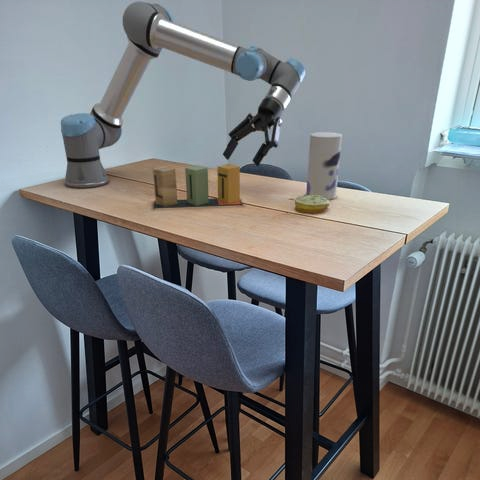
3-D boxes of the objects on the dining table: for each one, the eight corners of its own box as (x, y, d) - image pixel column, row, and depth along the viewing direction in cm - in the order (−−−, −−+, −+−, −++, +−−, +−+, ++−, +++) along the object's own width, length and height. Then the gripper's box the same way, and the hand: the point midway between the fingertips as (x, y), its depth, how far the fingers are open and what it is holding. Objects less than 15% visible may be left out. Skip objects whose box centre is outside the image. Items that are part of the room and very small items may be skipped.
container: (328, 202, 154) (335, 137, 144) (301, 197, 158) (305, 134, 148) (340, 195, 161) (346, 133, 151) (313, 191, 165) (318, 130, 155)
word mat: (153, 210, 146) (153, 207, 146) (154, 202, 154) (154, 199, 153) (242, 206, 149) (242, 204, 149) (239, 199, 157) (239, 196, 156)
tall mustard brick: (217, 201, 152) (216, 166, 147) (229, 198, 155) (228, 163, 150) (228, 204, 149) (227, 168, 143) (239, 201, 152) (239, 166, 147)
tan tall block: (155, 203, 150) (152, 168, 144) (168, 200, 153) (165, 166, 148) (164, 207, 147) (161, 171, 141) (177, 203, 150) (175, 168, 144)
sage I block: (186, 202, 151) (184, 167, 146) (198, 199, 154) (197, 165, 149) (196, 206, 148) (195, 170, 142) (208, 202, 151) (207, 167, 146)
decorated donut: (335, 209, 147) (336, 197, 145) (315, 216, 140) (316, 204, 138) (307, 202, 153) (308, 190, 151) (287, 209, 146) (288, 197, 144)
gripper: (240, 94, 156) (207, 147, 154) (298, 99, 140) (262, 158, 138) (251, 110, 161) (220, 161, 160) (308, 117, 146) (274, 173, 144)
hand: (239, 160), depth 149 cm, fingers open, 13 cm apart
